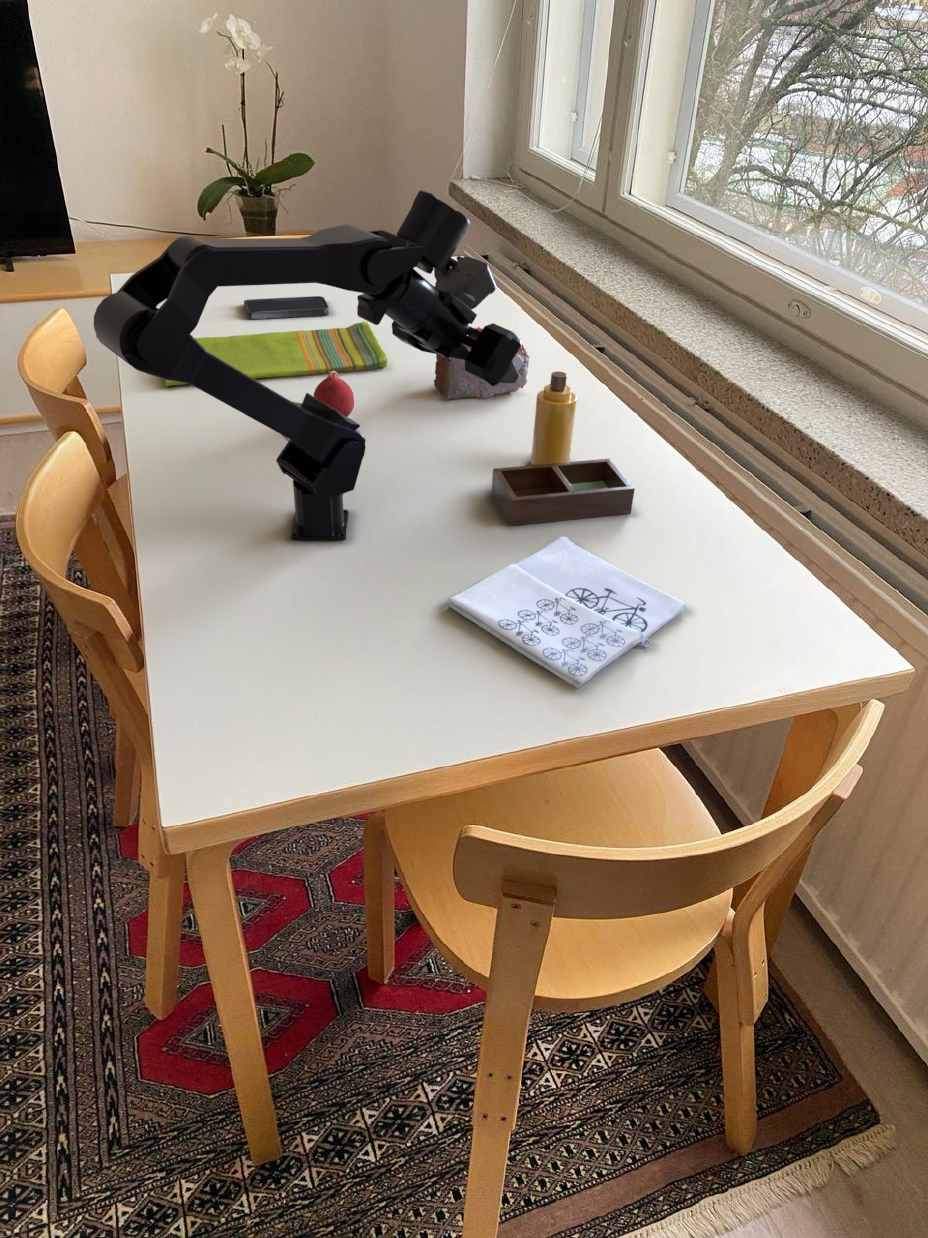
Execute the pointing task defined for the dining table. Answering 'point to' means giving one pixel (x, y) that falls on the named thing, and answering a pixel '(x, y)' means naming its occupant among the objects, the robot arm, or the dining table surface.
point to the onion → (335, 394)
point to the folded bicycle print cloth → (567, 610)
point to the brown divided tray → (561, 491)
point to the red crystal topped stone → (462, 384)
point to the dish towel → (298, 351)
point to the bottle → (553, 422)
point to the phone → (286, 307)
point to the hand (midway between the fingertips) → (491, 367)
